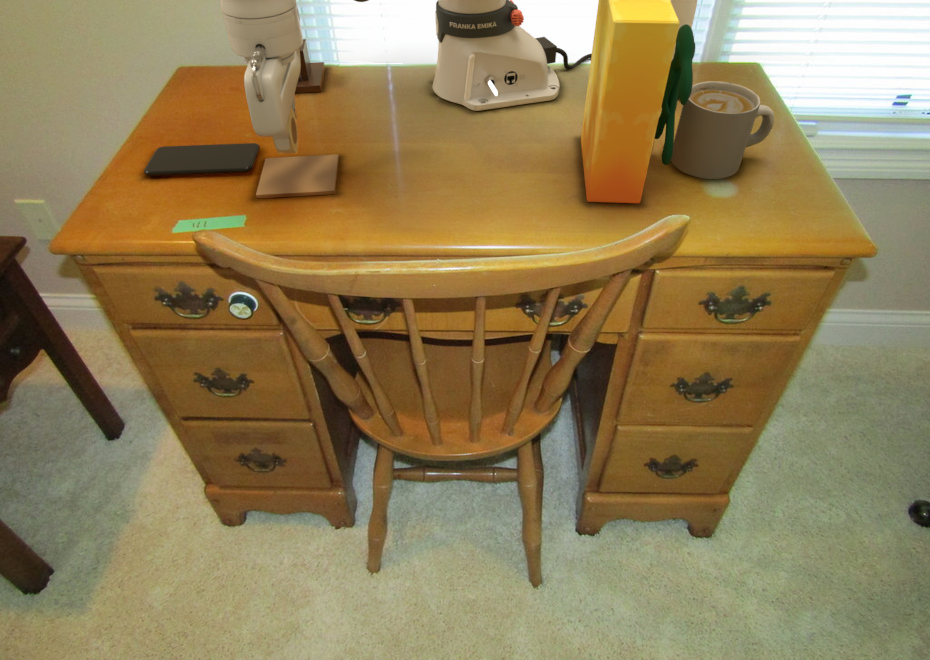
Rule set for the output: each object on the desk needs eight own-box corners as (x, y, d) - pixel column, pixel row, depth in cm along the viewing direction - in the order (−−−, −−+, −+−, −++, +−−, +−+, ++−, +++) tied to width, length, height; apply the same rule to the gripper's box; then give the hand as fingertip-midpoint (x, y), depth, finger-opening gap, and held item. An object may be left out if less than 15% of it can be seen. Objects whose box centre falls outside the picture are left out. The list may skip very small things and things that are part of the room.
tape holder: (325, 68, 120) (319, 33, 115) (321, 91, 113) (314, 55, 108) (271, 70, 119) (263, 35, 114) (264, 94, 112) (255, 58, 107)
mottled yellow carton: (677, 205, 87) (727, 22, 70) (586, 202, 87) (614, 20, 70) (660, 141, 99) (699, -28, 82) (580, 139, 100) (602, -29, 82)
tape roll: (300, 139, 92) (292, 100, 88) (295, 161, 88) (287, 120, 83) (282, 140, 92) (274, 100, 87) (277, 161, 87) (268, 120, 83)
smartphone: (143, 178, 93) (252, 174, 93) (140, 173, 92) (250, 168, 93) (159, 150, 99) (262, 147, 99) (157, 145, 98) (260, 141, 98)
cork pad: (339, 157, 97) (338, 154, 96) (334, 194, 90) (334, 190, 89) (266, 161, 96) (265, 157, 96) (256, 198, 89) (255, 195, 89)
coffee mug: (674, 177, 92) (691, 112, 84) (666, 143, 98) (681, 79, 91) (770, 181, 90) (795, 116, 83) (754, 146, 97) (776, 83, 90)
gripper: (279, 64, 71) (302, 173, 81) (299, 2, 85) (316, 100, 95) (222, 66, 71) (252, 175, 81) (251, 3, 85) (274, 102, 95)
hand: (287, 134), depth 88 cm, fingers closed on tape roll, 6 cm apart
